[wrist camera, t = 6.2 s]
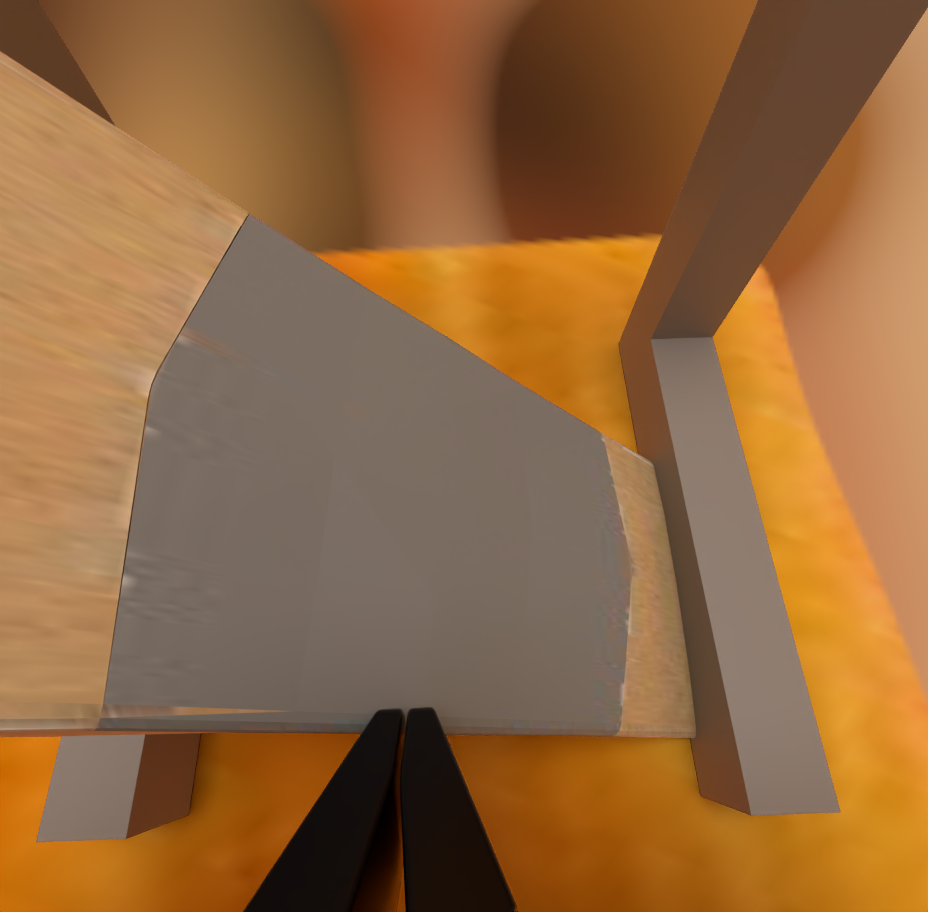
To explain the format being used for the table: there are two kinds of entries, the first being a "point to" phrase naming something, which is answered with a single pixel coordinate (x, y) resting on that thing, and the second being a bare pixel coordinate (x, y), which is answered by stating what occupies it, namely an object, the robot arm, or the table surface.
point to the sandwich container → (286, 484)
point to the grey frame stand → (634, 419)
